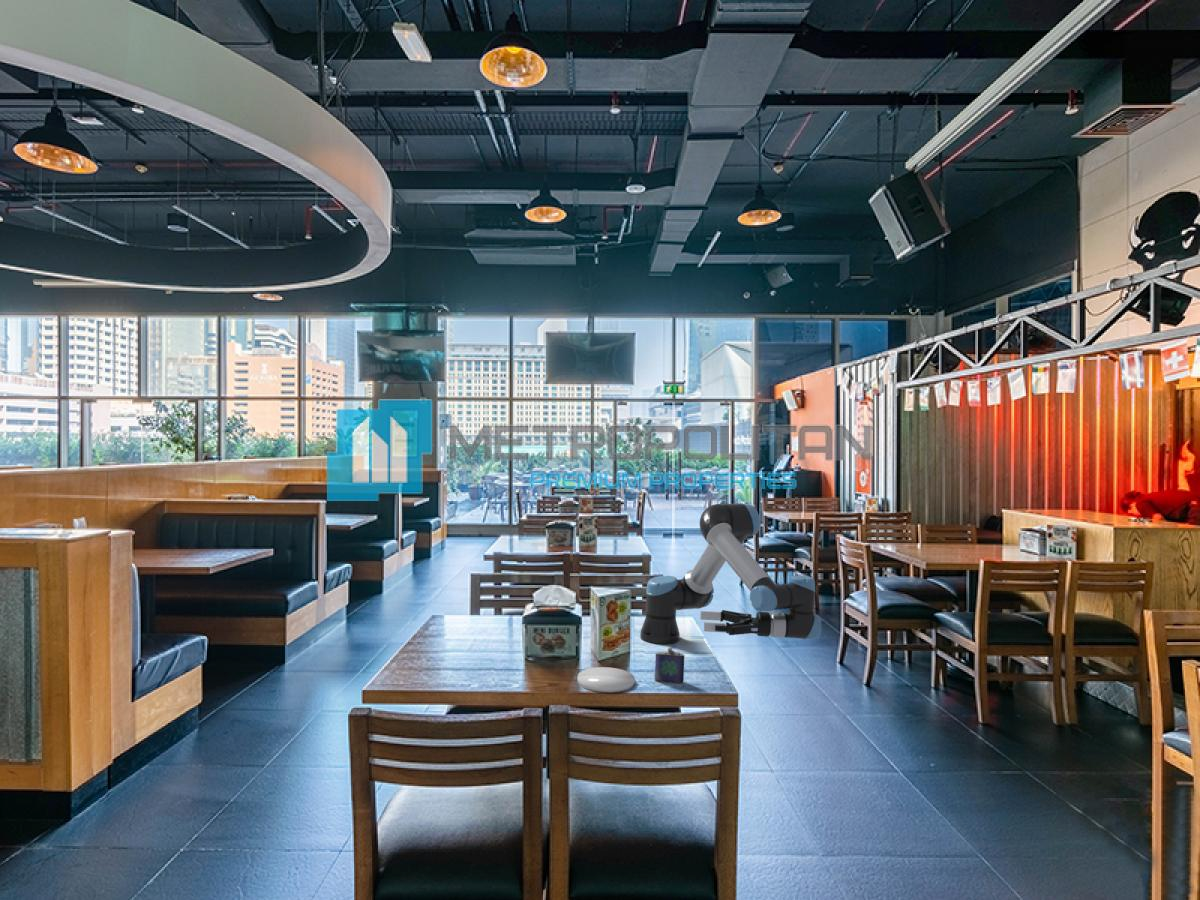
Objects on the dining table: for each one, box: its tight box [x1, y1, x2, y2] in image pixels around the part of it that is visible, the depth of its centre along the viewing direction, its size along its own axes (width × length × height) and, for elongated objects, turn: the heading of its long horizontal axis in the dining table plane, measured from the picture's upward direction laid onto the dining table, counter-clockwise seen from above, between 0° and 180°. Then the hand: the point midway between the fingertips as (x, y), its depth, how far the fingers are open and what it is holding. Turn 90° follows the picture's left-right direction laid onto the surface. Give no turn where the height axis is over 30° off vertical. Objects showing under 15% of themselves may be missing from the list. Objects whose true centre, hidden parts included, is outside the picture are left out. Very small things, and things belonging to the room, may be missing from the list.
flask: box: [654, 647, 685, 684], centre depth 221 cm, size 9×3×11 cm, turn 83°
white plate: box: [577, 666, 635, 693], centre depth 219 cm, size 18×18×2 cm
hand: (702, 620), depth 220 cm, fingers open, 13 cm apart
